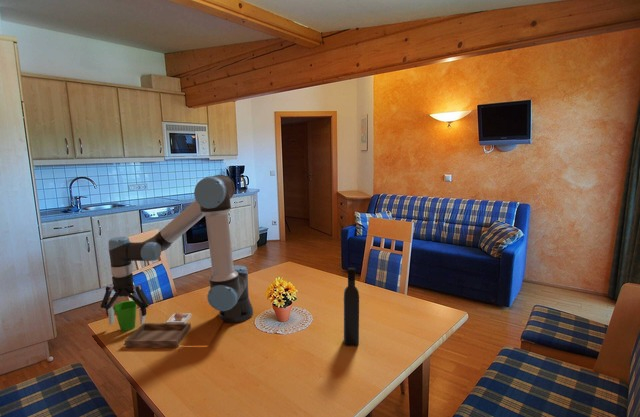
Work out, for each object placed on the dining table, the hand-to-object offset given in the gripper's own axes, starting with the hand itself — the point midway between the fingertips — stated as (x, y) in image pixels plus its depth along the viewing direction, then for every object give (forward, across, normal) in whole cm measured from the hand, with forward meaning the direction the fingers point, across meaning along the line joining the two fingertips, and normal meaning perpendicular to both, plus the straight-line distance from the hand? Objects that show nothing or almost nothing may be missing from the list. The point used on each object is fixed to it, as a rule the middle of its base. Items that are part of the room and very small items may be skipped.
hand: (127, 322), depth 147 cm
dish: (+3, -19, -7) cm, 20 cm away
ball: (+2, -19, -7) cm, 20 cm away
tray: (+3, -17, +7) cm, 19 cm away
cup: (+3, 0, 0) cm, 3 cm away
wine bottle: (+3, -94, +10) cm, 94 cm away
